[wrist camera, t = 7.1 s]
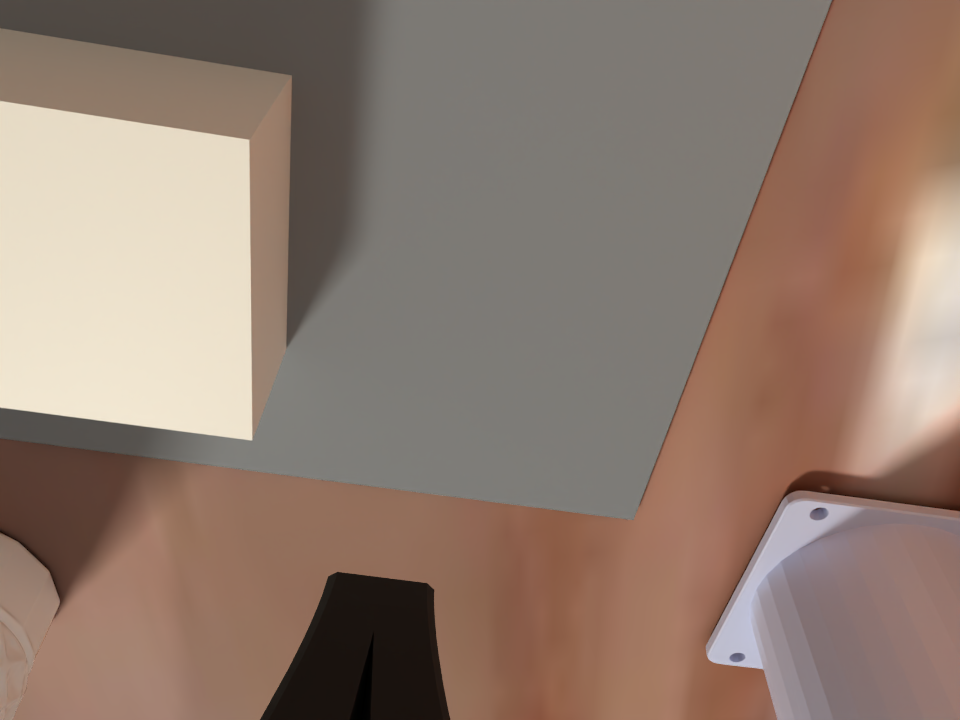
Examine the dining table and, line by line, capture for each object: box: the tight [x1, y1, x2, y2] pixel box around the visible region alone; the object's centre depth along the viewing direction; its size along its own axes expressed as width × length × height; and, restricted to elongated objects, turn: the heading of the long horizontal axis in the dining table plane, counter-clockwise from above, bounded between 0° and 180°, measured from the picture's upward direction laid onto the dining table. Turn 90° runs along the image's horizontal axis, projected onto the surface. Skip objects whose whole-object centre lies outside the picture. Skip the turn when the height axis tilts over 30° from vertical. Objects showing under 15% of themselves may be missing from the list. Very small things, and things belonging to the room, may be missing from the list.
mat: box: [0, 0, 832, 520], centre depth 19 cm, size 20×16×1 cm
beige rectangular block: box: [0, 28, 292, 441], centre depth 18 cm, size 4×7×8 cm
